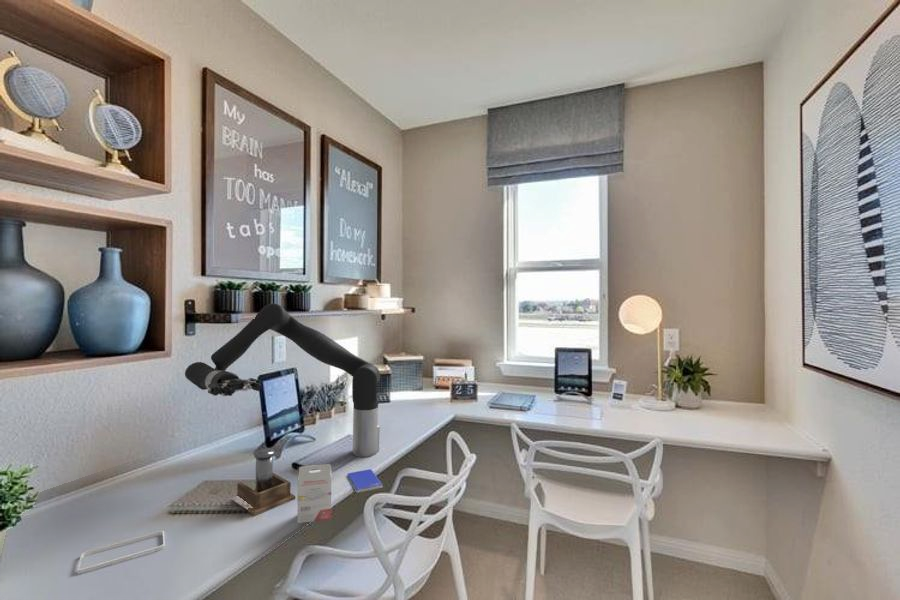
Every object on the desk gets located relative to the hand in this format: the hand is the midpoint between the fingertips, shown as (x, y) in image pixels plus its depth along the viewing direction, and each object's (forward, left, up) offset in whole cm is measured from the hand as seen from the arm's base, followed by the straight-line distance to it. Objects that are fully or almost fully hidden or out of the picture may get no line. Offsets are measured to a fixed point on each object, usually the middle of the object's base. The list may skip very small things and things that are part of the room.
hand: (245, 389), depth 122 cm
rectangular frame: (+32, +11, -31) cm, 46 cm away
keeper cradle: (0, +12, -30) cm, 32 cm away
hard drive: (-26, +26, -31) cm, 48 cm away
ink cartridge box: (-4, +31, -30) cm, 43 cm away
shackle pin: (0, +12, -29) cm, 31 cm away
